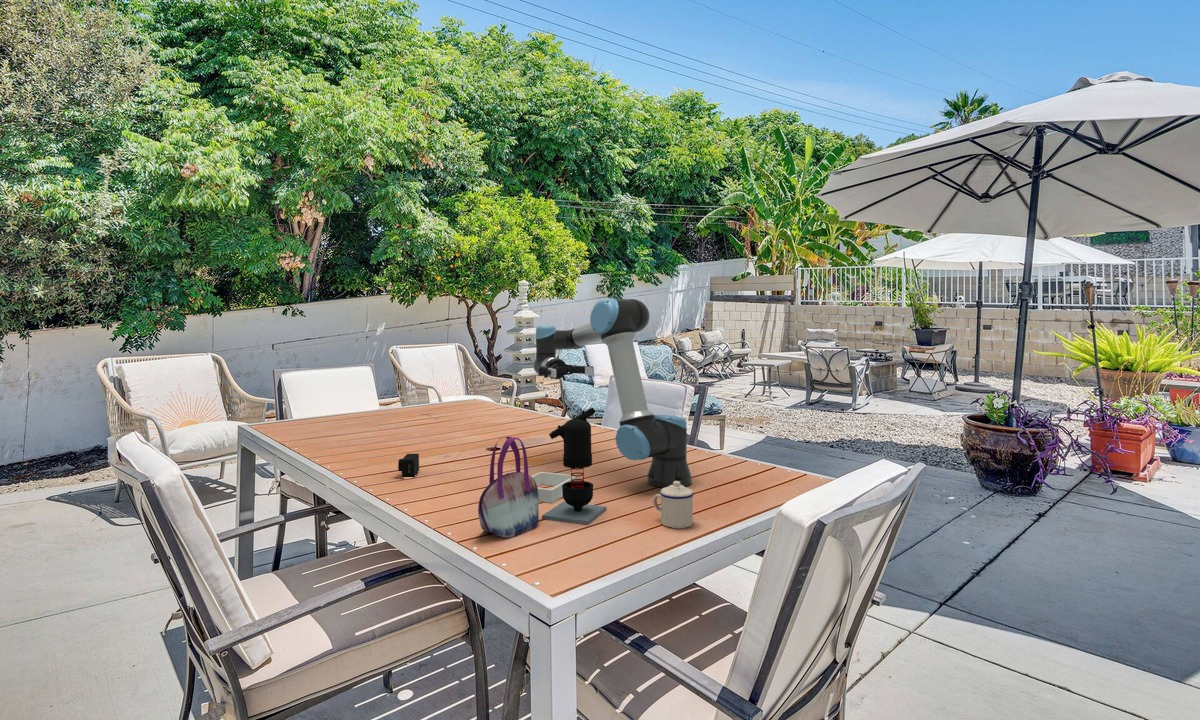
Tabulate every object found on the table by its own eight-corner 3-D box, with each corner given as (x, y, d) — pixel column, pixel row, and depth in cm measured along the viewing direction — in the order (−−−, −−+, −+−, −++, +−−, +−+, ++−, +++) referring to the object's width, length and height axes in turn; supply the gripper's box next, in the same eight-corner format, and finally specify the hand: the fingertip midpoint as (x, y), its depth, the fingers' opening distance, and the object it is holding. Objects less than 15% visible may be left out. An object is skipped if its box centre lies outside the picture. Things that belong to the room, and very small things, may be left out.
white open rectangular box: (577, 487, 206) (577, 475, 206) (552, 503, 189) (552, 490, 189) (540, 483, 212) (540, 471, 211) (512, 498, 194) (512, 485, 194)
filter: (594, 504, 183) (593, 404, 181) (599, 514, 174) (598, 409, 172) (549, 507, 181) (547, 406, 179) (551, 517, 172) (549, 410, 170)
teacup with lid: (699, 522, 170) (699, 480, 169) (682, 531, 163) (682, 488, 162) (662, 514, 177) (662, 474, 177) (644, 522, 170) (644, 481, 169)
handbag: (524, 515, 177) (523, 429, 175) (551, 522, 171) (550, 432, 169) (467, 537, 160) (465, 441, 158) (494, 545, 154) (492, 446, 152)
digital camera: (404, 472, 229) (403, 453, 228) (419, 471, 229) (418, 453, 229) (398, 479, 219) (397, 460, 218) (414, 479, 219) (413, 459, 219)
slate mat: (606, 509, 182) (606, 506, 182) (587, 524, 169) (587, 521, 169) (563, 504, 187) (563, 501, 187) (542, 518, 174) (541, 515, 174)
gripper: (585, 376, 233) (608, 382, 214) (521, 379, 224) (539, 385, 204) (585, 357, 233) (608, 360, 213) (521, 359, 223) (538, 362, 204)
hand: (574, 372), depth 209 cm, fingers open, 13 cm apart
